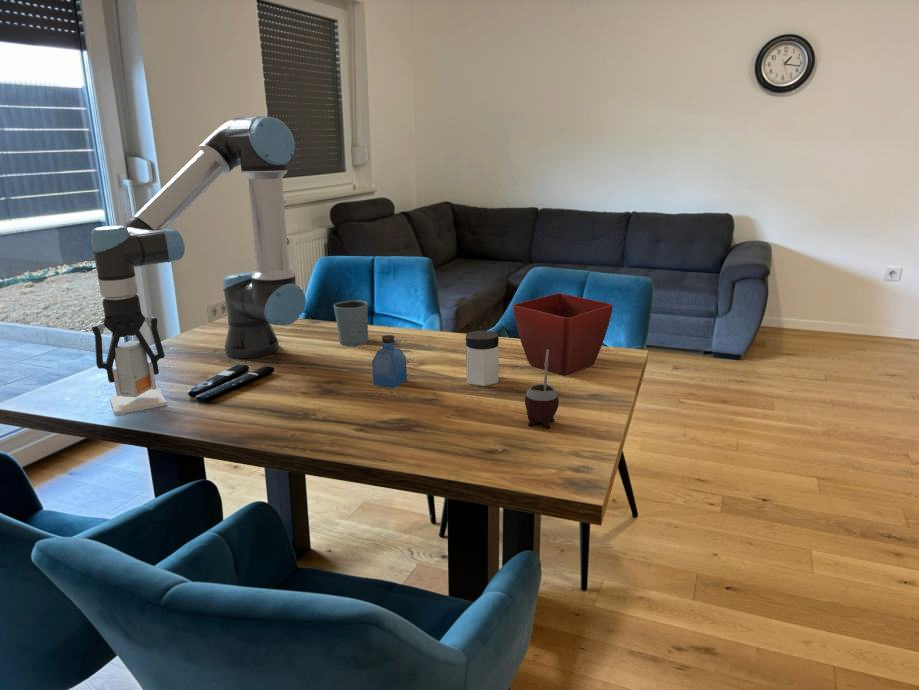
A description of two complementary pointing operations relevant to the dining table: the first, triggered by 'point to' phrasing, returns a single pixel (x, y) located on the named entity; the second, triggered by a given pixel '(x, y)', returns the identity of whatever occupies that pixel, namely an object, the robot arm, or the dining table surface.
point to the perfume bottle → (389, 364)
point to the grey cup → (352, 322)
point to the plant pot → (562, 331)
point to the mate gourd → (541, 402)
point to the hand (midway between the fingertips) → (136, 390)
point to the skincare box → (132, 369)
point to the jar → (482, 358)
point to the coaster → (138, 402)
